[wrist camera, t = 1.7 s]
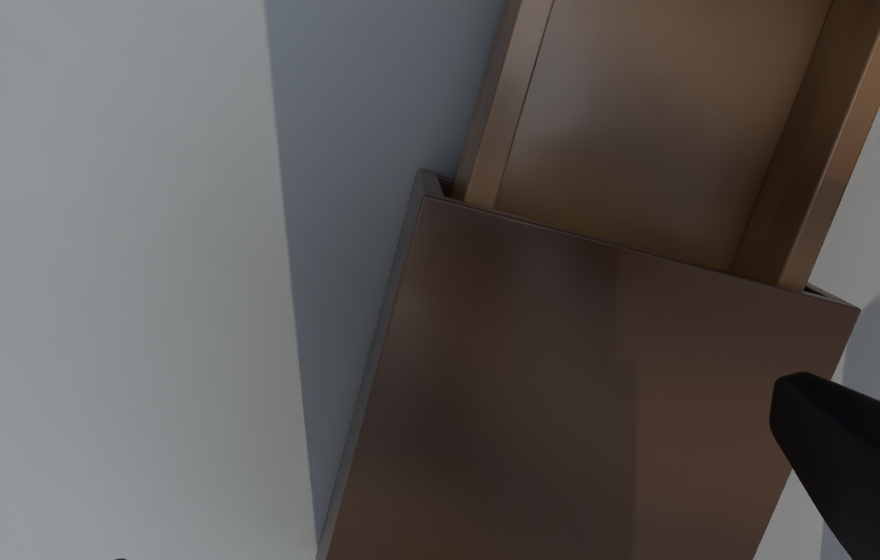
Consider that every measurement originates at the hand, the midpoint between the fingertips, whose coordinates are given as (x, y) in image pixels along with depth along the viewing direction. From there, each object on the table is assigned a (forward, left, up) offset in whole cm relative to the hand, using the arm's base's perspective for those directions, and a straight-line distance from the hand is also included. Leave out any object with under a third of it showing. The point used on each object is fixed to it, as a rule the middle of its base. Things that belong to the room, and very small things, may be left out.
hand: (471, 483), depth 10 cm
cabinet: (-7, 0, -14) cm, 15 cm away
